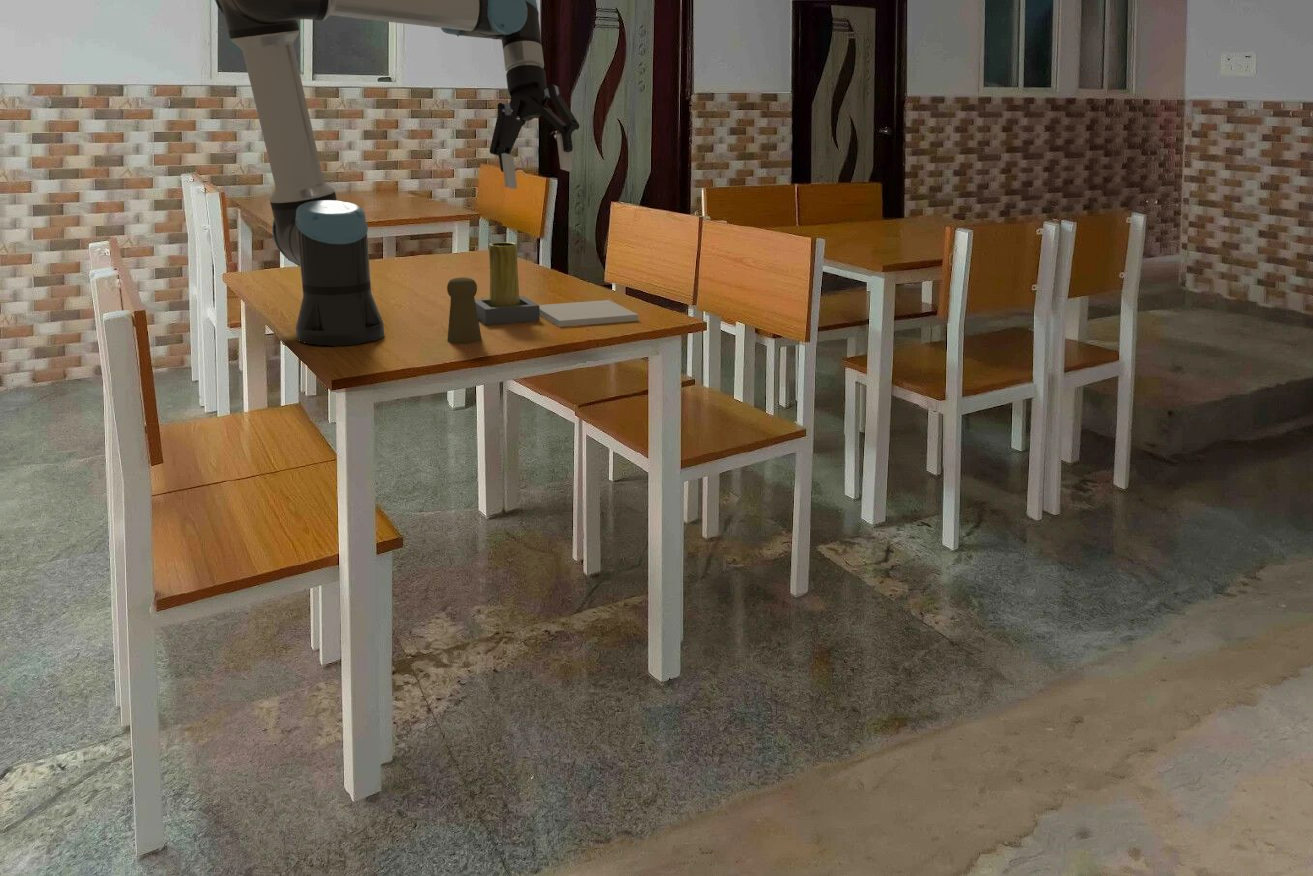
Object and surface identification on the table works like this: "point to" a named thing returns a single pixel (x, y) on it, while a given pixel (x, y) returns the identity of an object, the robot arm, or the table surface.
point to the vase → (503, 274)
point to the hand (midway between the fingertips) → (538, 178)
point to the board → (586, 313)
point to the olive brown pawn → (463, 312)
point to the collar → (507, 312)
